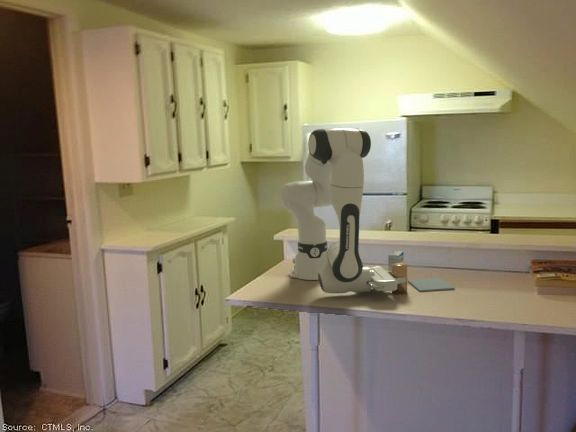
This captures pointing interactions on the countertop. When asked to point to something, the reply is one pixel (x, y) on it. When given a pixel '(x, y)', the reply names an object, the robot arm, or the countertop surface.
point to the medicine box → (395, 258)
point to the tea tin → (400, 271)
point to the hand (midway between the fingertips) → (401, 276)
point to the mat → (430, 284)
